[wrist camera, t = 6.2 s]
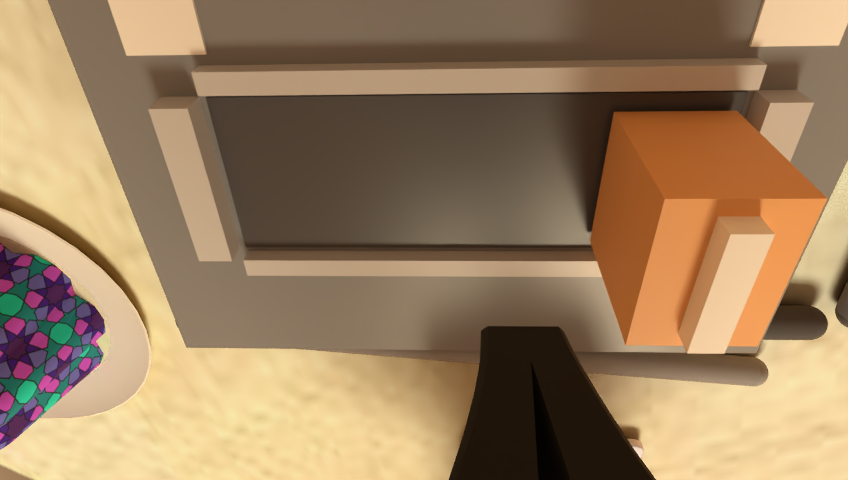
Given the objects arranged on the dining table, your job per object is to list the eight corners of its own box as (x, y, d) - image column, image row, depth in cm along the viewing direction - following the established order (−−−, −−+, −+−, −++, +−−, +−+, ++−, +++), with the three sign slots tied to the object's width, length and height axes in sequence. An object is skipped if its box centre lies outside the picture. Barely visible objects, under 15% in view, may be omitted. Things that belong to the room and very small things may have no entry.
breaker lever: (694, 241, 16) (770, 366, 12) (589, 241, 16) (632, 365, 12) (736, 110, 14) (845, 216, 10) (613, 111, 14) (675, 216, 10)
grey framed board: (737, 320, 20) (767, 371, 19) (202, 316, 21) (177, 364, 19) (931, -142, 12) (1023, -137, 10) (47, -117, 13) (-23, -107, 11)
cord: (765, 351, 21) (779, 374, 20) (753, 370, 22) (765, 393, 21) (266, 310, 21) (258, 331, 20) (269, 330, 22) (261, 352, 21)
